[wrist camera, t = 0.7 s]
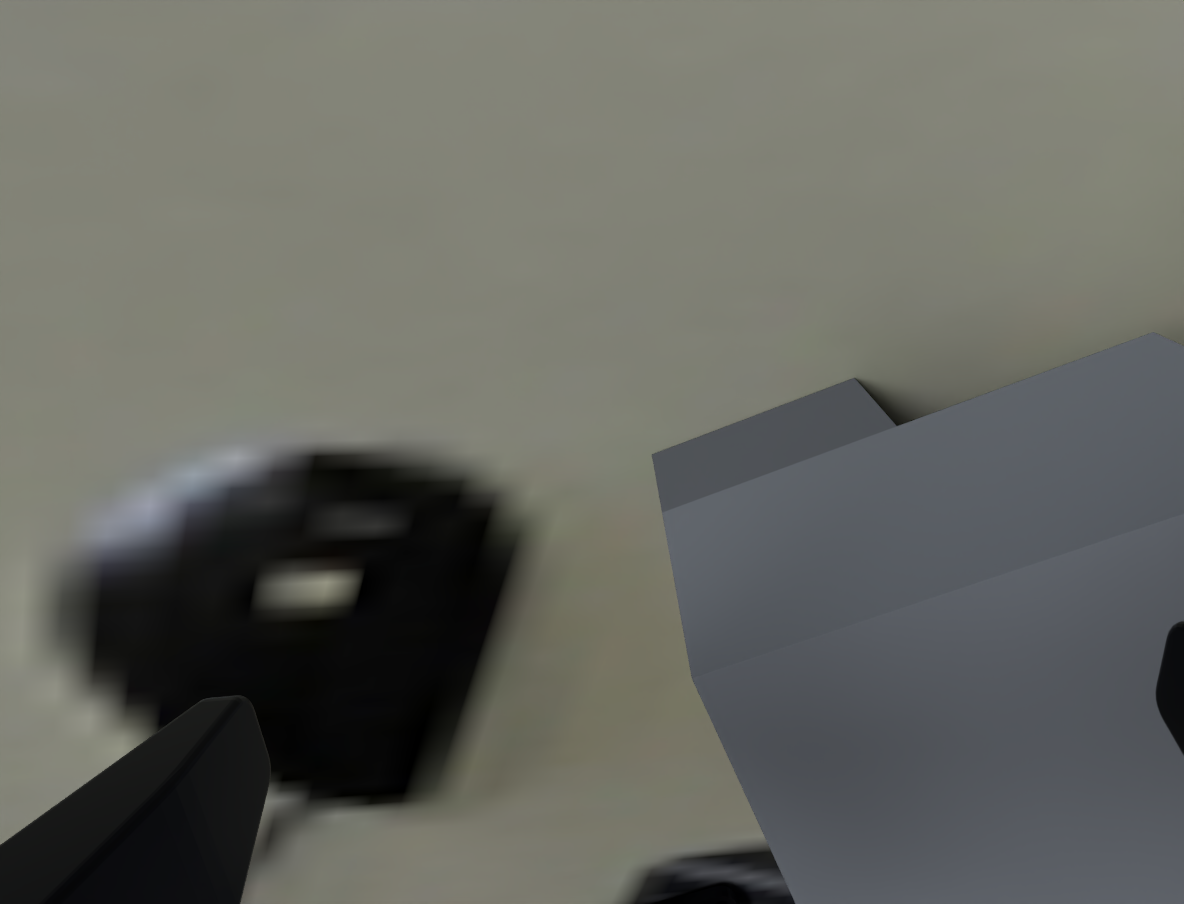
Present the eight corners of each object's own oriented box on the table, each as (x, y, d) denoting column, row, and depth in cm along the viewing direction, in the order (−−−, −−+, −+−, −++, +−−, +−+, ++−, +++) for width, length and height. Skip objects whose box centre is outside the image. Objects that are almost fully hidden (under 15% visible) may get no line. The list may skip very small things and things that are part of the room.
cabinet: (1151, 684, 26) (1419, 973, 17) (796, 793, 27) (887, 1103, 19) (1081, 291, 21) (1408, 438, 12) (652, 454, 22) (691, 678, 14)
